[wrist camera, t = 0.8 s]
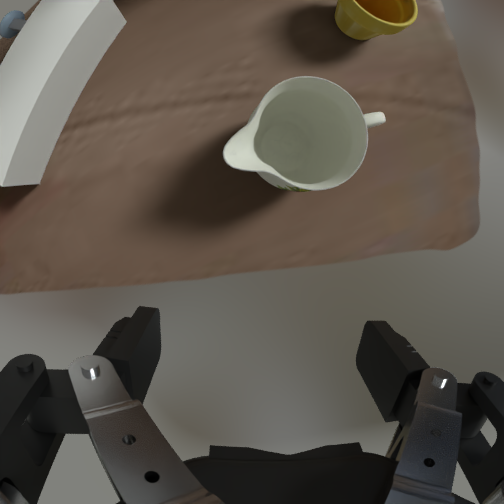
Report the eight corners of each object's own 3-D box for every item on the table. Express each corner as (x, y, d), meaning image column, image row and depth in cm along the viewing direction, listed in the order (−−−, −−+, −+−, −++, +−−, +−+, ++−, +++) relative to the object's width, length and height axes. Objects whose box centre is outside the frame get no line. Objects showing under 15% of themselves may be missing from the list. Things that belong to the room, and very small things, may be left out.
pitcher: (366, 167, 39) (424, 164, 26) (239, 208, 39) (245, 221, 25) (340, 90, 36) (388, 57, 23) (210, 126, 36) (202, 97, 23)
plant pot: (338, 56, 35) (366, 27, 26) (310, -1, 33) (329, -37, 23) (396, 49, 35) (430, 26, 26) (368, -5, 33) (395, -34, 23)
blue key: (9, 41, 26) (-6, 32, 21) (25, 16, 25) (11, 6, 21) (42, 49, 27) (26, 39, 23) (59, 23, 27) (45, 11, 22)
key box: (-1, 159, 34) (-38, 159, 25) (78, 9, 30) (54, -17, 21) (39, 183, 35) (2, 186, 27) (126, 22, 31) (107, -9, 23)
